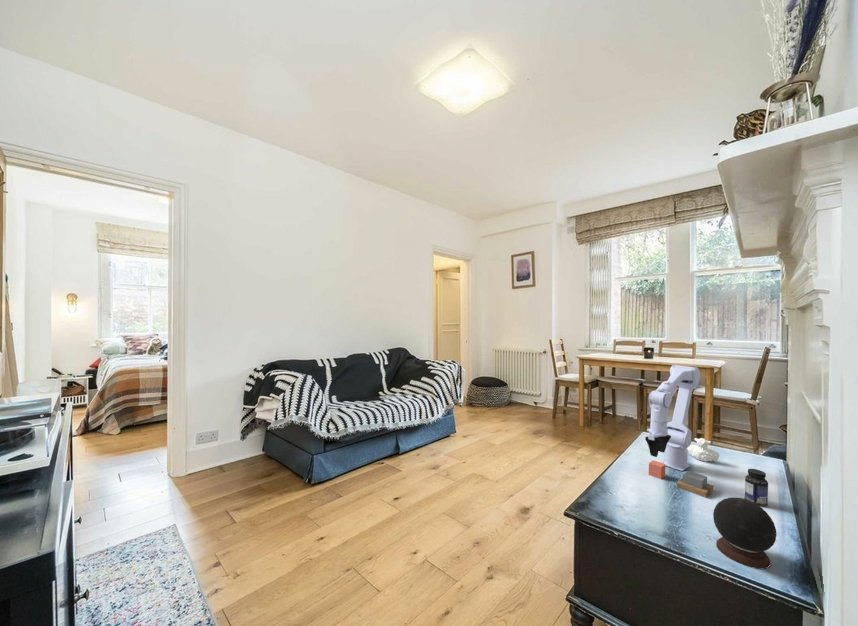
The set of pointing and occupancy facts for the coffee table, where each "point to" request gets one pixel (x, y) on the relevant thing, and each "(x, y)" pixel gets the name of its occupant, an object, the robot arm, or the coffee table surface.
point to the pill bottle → (756, 487)
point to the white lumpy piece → (703, 451)
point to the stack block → (657, 469)
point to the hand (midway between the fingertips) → (657, 453)
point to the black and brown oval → (744, 531)
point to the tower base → (695, 488)
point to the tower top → (695, 479)
